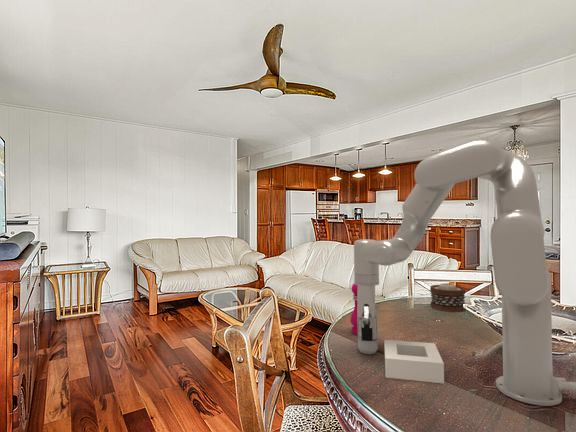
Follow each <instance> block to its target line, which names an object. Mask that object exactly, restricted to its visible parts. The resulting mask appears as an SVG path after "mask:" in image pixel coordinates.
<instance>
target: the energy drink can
mask: <svg viewBox="0 0 576 432" xmlns="http://www.w3.org/2000/svg"><path fill="white" fill-rule="evenodd" d="M371 315H372V314H371ZM363 316H364V311H363ZM369 317H370V315H369ZM371 318H372V317H371ZM369 321H370V320H369ZM371 321H372V331H373V341H363V340H362V316H361V317H360V318H358V316H357V323H358V335H357V349H358V350H359V352H360V353H362V354H365V355H374V354H376V353H377V351H378V348H379V347H378V346H379V345H378V343H379V342H378V339H379V338H378V307H377V306H376V305H375V309H374V317H373V318H372V319H371Z"/></svg>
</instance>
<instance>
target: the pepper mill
mask: <svg viewBox="0 0 576 432" xmlns="http://www.w3.org/2000/svg"><path fill="white" fill-rule="evenodd" d="M357 290H358V285H356V284H355V283H354V282H353V283H352V285H351V291H352V294H353V295H352V297H353V300H354V308H353V311H352V313H351V315H350V323H351V325H352V327H351V333H352V334H353V335H356V336H358V323H357Z"/></svg>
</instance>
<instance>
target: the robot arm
mask: <svg viewBox="0 0 576 432" xmlns="http://www.w3.org/2000/svg"><path fill="white" fill-rule="evenodd" d="M477 178H478V179H482V180H487V181H489V182H491V184H492V185H493V186H494V195H495V204H496V214H497V216H496V217H497V218H496V219H495V220H494V222H493V223H492V225H491V228H490V246H491V257H492V266H493V267H492V268H493V277H494V283H495V287H496V289H497V291H498V293H499V294H500V295H501V297H502V299H501V321H502V322H501V323H502V324H501V326H502V329H501V330H502V331H501V332H502V333H501V334H502V338H501V339H502V375H500V376H499V377H497V378H496V380H495V387H496V388H497V389H498V391H500V392H501V393H502V394H504V395H505V396H507V397H509V398H511V399H513V400H515V401H518V402H522V403H526V404H528V405H529V404H530V405H534V406H540V407H543V406H544V407H549V406H551V407H552V406H556V405H559V404H561V403H562V402H563V395H562V392H563V391H569V392H576V381H567V379H566V378H565V377H559V376H558V377H557V376H554V375H553V374H554V373H553V342H552V341H553V337H552V336H553V334H552V329H553V328H552V327H553V326H552V325H553V324H552V323H553V322H552V276H551V273H550V271H549V270H548V268H547V258H546V249H545V242H544V241H545V240H544V239H545V226H544V224H543V220H542V215H541V214H542V213H541V207H540V205H541V204H540V198H539V192H538V186H537V179H536V176H535V172H534V171H533V169H532V166H531V165H530V164H529V163H528V162H527V161H526V160H525V159H524V158H523V157H521V156H520V155H518V154H516V153H515V152H511V151H508V150H506V149H503V148H502V147H501V146H499V145H498V144H497V143H495V142H493V141H491V140H488V139H487V140H485V139H480V140H479V139H477V140H473V141H470V142H468V143H464V144H461V145H458V146H455V147H453V148H450V149H447V150H445V151H442V152H438V153H436V154H433V155H431V156H428V157H426V158H424V159H423V160H421V161H420V162H419V163H418V164H417V166H416V167H415V169H414V181H415V185H414V186H413V188H412V190H411V191H410V193H409V194H408V196H407V197H406V199H405V200H404V202H403V204H402V207H401V208H402V215H403V217H402V221H401V224H400V226H399V228H398V229H397V231H396V232H395V234H394V235H393V237H392V238H388V239H382V240H375V239H371V238H370V239H368V238H367V239H366V238H365V239H364V238H363V239H357V240H355V241H354V243H353V268H354V269H353V272H354V274H353V275H354V277H353V279H354V282H353V284H354V283H355V284H356V285H358V290H357V316H358V318H360V317H361V316H362V340H363V341H373V331H372V321H371V319H372V318H373V317H374V309H375V306H376V286H379V285H380V270H379V269H380V266H385V267H386V266H392V265H396V264H399V263H402V262H405V261H406V260H407V259H408V258H409V257H410V255H411V254H412V253H413V252H414V250H415V249H416V247H417V246H418V245H419V244H420V242H421V240H422V238H423V236H424V235H425V233H426V230H427V228H428V226H429V223H430V222H431V219H432V218H433V217H434V215H435V214H436V212H437V211H438V209H439V208H440V206H441V205H442V204H443V202H444V201H445V199H446V198H447V196H448V195H449V193H450V192H451V190H452V189H453V188H454V186H455V184H458V183H461V182H466V181H468V180H472V179H477ZM363 311H364V316H363ZM371 314H372V315H371ZM369 315H370V317H369ZM371 317H372V318H371ZM369 320H370V321H369Z"/></svg>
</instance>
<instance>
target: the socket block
mask: <svg viewBox="0 0 576 432" xmlns="http://www.w3.org/2000/svg"><path fill="white" fill-rule="evenodd" d="M383 342H384V343H383V344H384V347H383V348H384V368H385V369H384V372H385V373H384V374H385V378H387V379H393V380H394V379H396V380H403V381H404V380H406V381H413V382H414V381H416V382H424V383H436V384H443V385H444V384H445V363H444V361H443V358H442V356H441V355H440V352H439V350H438V347H437V345H436V343H434V342H420V341H408V340H393V339H383Z"/></svg>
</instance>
